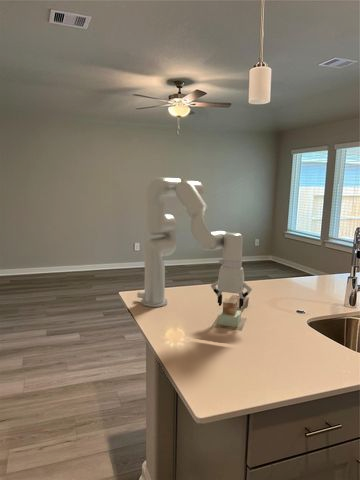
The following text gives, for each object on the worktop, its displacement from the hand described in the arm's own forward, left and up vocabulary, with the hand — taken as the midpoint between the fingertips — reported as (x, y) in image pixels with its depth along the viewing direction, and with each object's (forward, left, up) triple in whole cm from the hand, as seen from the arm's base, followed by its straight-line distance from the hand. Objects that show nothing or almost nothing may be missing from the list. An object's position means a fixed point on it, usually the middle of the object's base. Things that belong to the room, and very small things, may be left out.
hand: (230, 306), depth 147 cm
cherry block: (0, 0, -3) cm, 3 cm away
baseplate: (0, 0, -8) cm, 8 cm away
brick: (-1, +20, -9) cm, 22 cm away
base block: (0, 0, -7) cm, 7 cm away
